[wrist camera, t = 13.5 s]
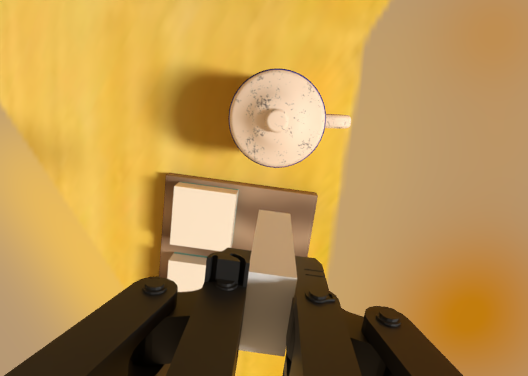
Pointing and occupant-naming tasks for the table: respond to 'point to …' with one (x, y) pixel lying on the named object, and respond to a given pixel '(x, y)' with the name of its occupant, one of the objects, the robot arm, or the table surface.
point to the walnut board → (244, 215)
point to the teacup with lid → (279, 118)
